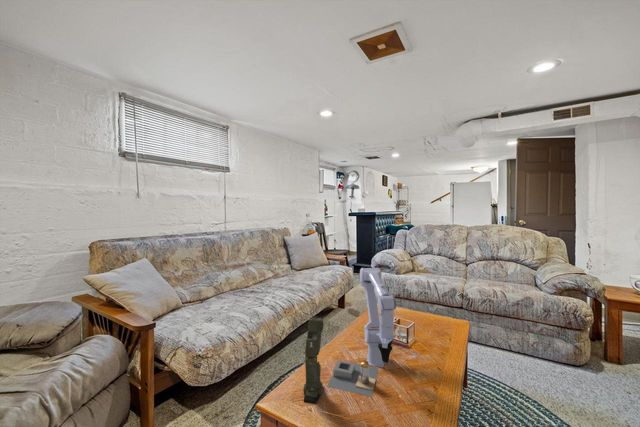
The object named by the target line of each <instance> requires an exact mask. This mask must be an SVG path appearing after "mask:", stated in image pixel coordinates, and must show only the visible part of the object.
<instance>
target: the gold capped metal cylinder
mask: <svg viewBox="0 0 640 427" xmlns="http://www.w3.org/2000/svg"><path fill="white" fill-rule="evenodd" d="M359 364H360V367H361V383H362V384H369V366H370V365H369V362H368V361H367V360H361V361H360V363H359Z"/></svg>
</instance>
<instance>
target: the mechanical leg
mask: <svg viewBox="0 0 640 427" xmlns="http://www.w3.org/2000/svg"><path fill="white" fill-rule="evenodd" d="M323 320H324V318H322V317H320V316H316V315H315V316H314V315H312V316H311V317H309V319H308V327H307V337H306V339H305V340H306V341H305V349H304V350H305V351H304V353H305V354H304V355H305V358H304V365H305V366H304V367H305V383H304V385H303V394H304V397H303V403H308V404H314V405H315V404H317V403H318V400H319V399H320V397H322V396H323V395H322V394H323V382H322V380H321V372H322V371H321V368H322V366H321V364H320V361H318V355H319V353H320V351H321V341H322V333H323V330H324V324H325V323H324V321H323Z"/></svg>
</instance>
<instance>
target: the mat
mask: <svg viewBox="0 0 640 427" xmlns="http://www.w3.org/2000/svg"><path fill="white" fill-rule="evenodd" d="M355 363H356V362H355ZM378 372H379V367H378V366H372V365H369V378H373V379H376V380H377V375H378ZM359 376H361V367H360V363H356V364H355V372H354V375H353V378H352V380H347V379H342V378H338V377H333V374H332V376H331V377H330V379H329V382H328V384H327V385H326V387H328V388H332V389H336V390H342V391H345V392H350V393H353V394H358V395H362V396H366V397H370V398H372V397H373V393H374V389H375V388H374V389H373V391H371V390H367V389H362V388H358V387H356V383H357V380H358V377H359Z"/></svg>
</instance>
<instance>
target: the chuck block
mask: <svg viewBox="0 0 640 427" xmlns="http://www.w3.org/2000/svg"><path fill="white" fill-rule="evenodd" d="M355 364H356V362H353V361H347V360H342V359H338V360H337V361H336V363H335V365H334V367H333V369H332V375H333V377H338V378H342V379H347V380H352V378H353V375H354V372H355Z"/></svg>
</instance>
